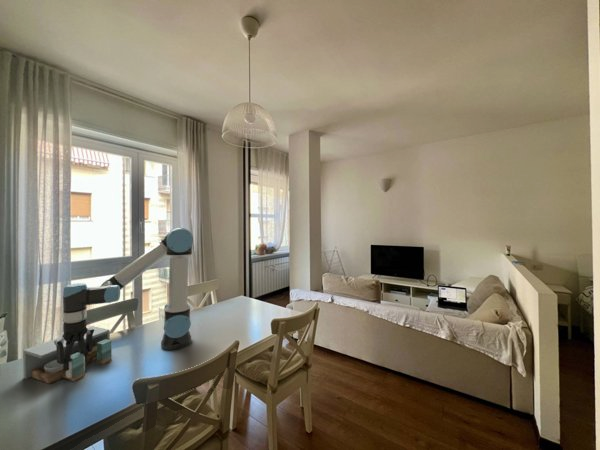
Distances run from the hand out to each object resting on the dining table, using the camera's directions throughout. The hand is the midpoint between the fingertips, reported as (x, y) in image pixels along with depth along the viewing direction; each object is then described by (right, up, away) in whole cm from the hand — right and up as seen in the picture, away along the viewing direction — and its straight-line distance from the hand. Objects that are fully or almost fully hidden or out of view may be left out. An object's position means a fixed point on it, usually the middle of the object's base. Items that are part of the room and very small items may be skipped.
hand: (75, 373), depth 107 cm
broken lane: (-4, -2, +15) cm, 15 cm away
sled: (-7, -2, +3) cm, 8 cm away
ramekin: (-12, -2, +4) cm, 13 cm away
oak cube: (-8, -2, +16) cm, 18 cm away
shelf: (-11, -2, +10) cm, 15 cm away
